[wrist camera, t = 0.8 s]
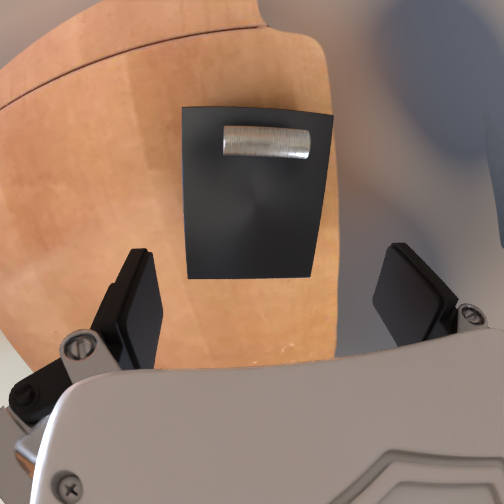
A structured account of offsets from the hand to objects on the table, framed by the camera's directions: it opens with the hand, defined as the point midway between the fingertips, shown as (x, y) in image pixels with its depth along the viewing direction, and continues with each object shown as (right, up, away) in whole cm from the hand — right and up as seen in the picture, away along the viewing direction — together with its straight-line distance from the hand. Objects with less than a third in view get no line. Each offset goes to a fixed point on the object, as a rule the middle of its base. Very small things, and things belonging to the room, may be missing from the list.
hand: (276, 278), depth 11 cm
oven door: (-1, +5, +12) cm, 13 cm away
